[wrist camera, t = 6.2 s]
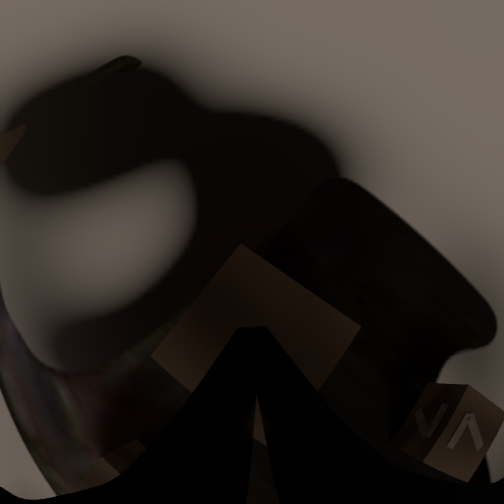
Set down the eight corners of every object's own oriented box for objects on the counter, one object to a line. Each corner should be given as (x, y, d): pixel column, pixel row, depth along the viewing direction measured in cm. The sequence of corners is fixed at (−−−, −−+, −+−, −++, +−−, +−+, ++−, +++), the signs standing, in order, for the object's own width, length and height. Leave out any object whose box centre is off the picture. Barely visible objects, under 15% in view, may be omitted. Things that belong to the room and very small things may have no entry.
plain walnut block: (268, 414, 16) (270, 448, 9) (193, 358, 18) (150, 356, 11) (324, 339, 18) (360, 326, 11) (249, 286, 19) (240, 243, 12)
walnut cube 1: (156, 517, 13) (130, 548, 8) (104, 473, 14) (67, 494, 10) (193, 483, 14) (172, 516, 10) (135, 437, 16) (99, 455, 11)
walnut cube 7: (431, 464, 14) (468, 482, 9) (387, 442, 15) (422, 462, 10) (465, 408, 15) (507, 413, 10) (426, 381, 16) (468, 383, 11)
